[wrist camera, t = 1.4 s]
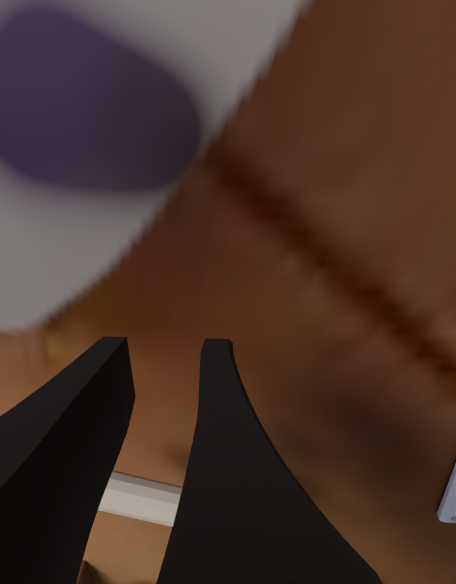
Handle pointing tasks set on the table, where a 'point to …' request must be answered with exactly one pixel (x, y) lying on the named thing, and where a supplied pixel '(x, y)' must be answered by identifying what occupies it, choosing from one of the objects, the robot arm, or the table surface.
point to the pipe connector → (141, 498)
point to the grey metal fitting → (83, 575)
